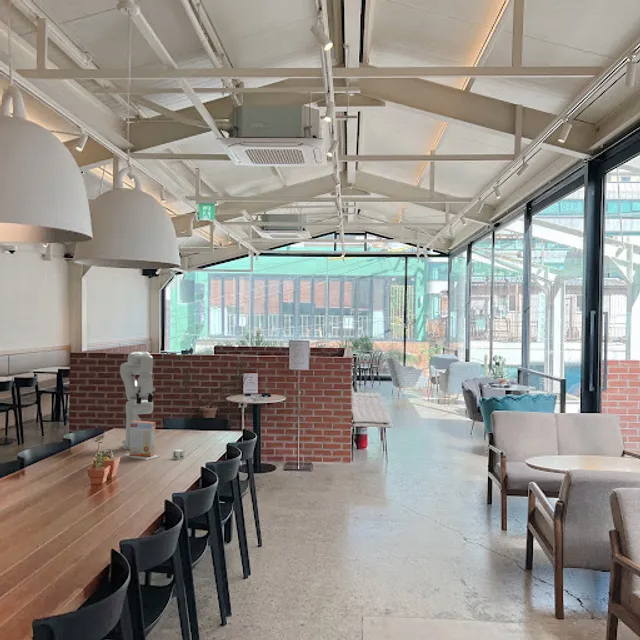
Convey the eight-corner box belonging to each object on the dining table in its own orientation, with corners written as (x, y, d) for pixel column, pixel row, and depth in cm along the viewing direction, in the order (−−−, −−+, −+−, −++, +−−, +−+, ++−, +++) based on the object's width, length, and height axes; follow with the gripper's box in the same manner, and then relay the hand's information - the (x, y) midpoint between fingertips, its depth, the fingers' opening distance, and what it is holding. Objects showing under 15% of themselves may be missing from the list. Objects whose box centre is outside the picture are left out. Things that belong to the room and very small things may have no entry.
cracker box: (154, 455, 370) (156, 421, 370) (150, 457, 364) (152, 423, 364) (133, 453, 372) (134, 420, 372) (128, 455, 366) (130, 421, 366)
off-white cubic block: (172, 458, 366) (172, 450, 366) (177, 457, 371) (178, 449, 371) (178, 459, 364) (179, 451, 364) (184, 458, 368) (184, 450, 368)
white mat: (123, 455, 367) (123, 454, 367) (136, 452, 377) (136, 451, 377) (147, 460, 359) (147, 459, 359) (159, 457, 368) (159, 456, 368)
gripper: (151, 373, 378) (149, 400, 378) (131, 375, 362) (129, 403, 362) (160, 375, 374) (158, 402, 374) (140, 376, 359) (138, 404, 359)
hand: (144, 402), depth 368 cm, fingers open, 9 cm apart
